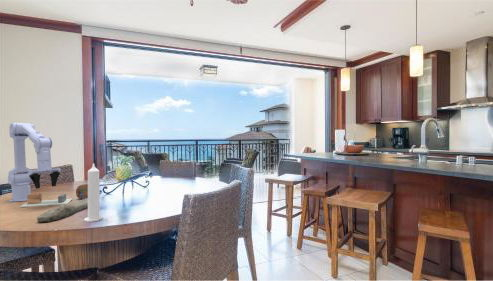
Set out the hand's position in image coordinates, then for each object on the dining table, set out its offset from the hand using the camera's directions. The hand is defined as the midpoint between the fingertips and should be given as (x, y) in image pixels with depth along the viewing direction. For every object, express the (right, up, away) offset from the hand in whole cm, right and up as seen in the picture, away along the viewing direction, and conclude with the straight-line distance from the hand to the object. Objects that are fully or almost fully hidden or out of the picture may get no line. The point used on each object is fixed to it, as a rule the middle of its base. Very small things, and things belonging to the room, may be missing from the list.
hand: (46, 187), depth 139 cm
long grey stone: (+17, -11, -8) cm, 22 cm away
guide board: (-5, -10, +9) cm, 14 cm away
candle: (+35, -11, -19) cm, 42 cm away
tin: (+7, -10, +24) cm, 27 cm away
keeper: (-11, -10, +7) cm, 16 cm away
